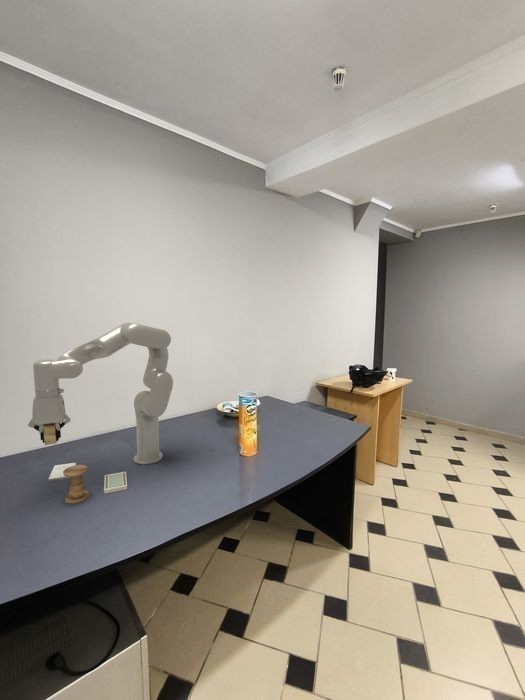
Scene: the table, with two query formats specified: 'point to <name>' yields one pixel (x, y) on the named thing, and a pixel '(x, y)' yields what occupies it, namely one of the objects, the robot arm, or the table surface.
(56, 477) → the external hard drive
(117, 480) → the board
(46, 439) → the wooden block
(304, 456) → the table surface
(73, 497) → the bobbin
